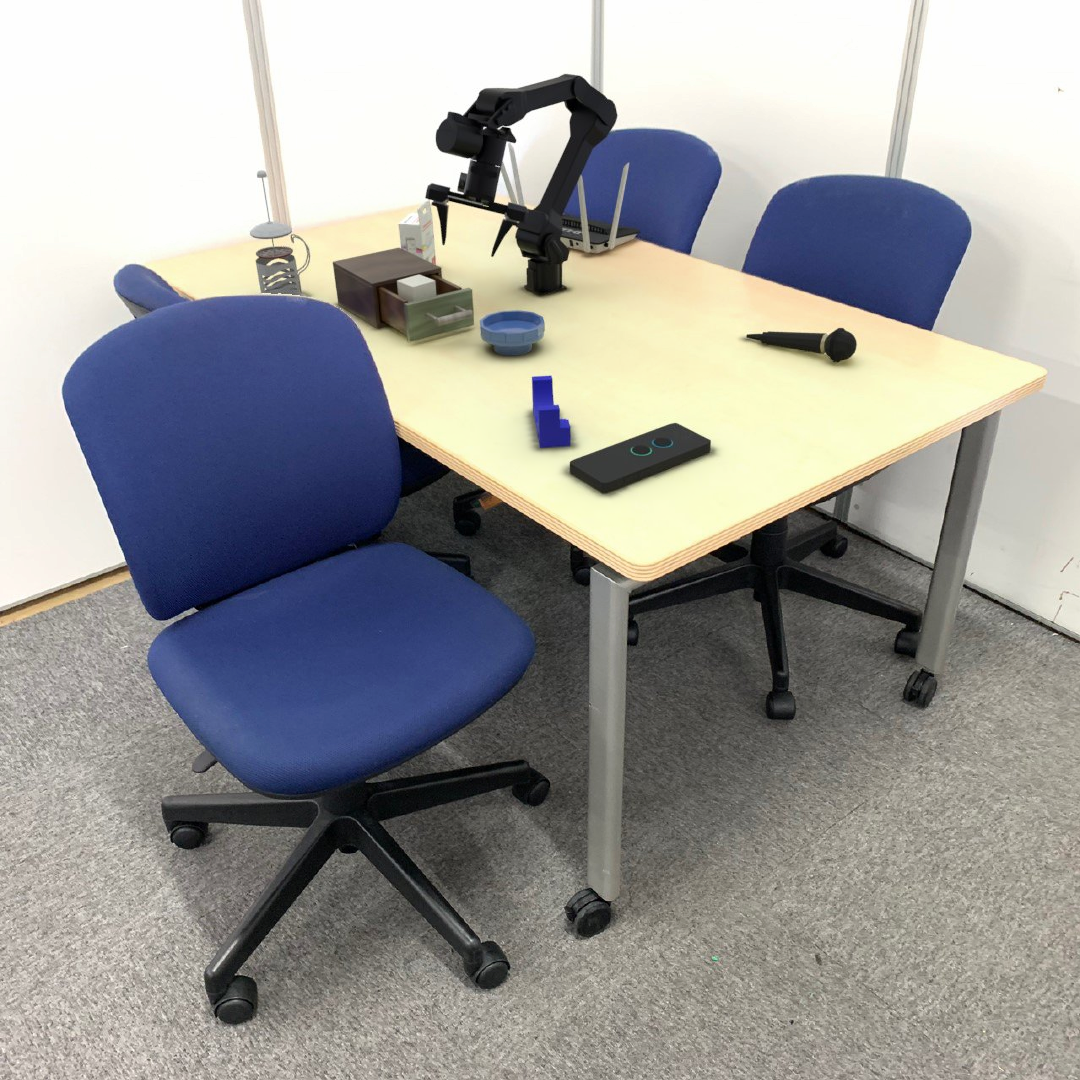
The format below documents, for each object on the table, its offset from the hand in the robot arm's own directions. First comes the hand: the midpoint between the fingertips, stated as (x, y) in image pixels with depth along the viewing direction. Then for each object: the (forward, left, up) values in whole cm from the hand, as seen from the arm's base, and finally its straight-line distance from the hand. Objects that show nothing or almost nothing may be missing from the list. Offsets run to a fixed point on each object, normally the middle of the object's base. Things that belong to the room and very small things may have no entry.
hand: (467, 250), depth 190 cm
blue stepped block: (+17, +50, -12) cm, 54 cm away
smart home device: (+13, +66, -12) cm, 68 cm away
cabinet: (+11, -12, -12) cm, 20 cm away
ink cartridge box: (-4, -27, -12) cm, 30 cm away
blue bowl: (+4, +19, -12) cm, 23 cm away
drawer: (+11, +3, -11) cm, 16 cm away
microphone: (-35, +52, -12) cm, 64 cm away
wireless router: (-42, -25, -12) cm, 51 cm away
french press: (+25, -30, -12) cm, 41 cm away
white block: (+12, +1, -10) cm, 16 cm away
